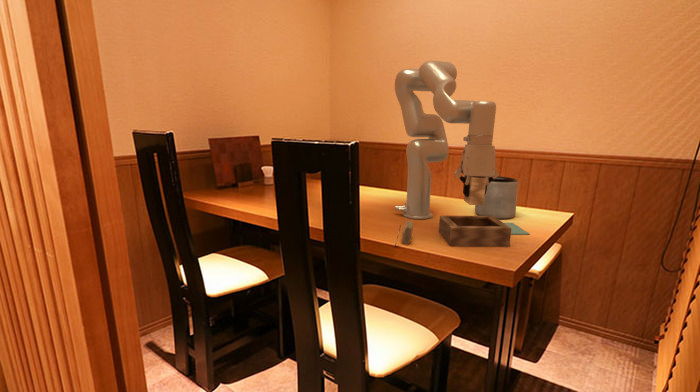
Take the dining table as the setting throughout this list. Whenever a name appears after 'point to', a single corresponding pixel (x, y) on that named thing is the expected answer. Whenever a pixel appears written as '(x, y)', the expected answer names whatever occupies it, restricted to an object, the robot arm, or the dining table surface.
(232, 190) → the dining table surface
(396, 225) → the dining table surface
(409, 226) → the cuneiform tablet
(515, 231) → the mat
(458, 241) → the box
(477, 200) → the beech block
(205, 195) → the dining table surface
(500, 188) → the planter
